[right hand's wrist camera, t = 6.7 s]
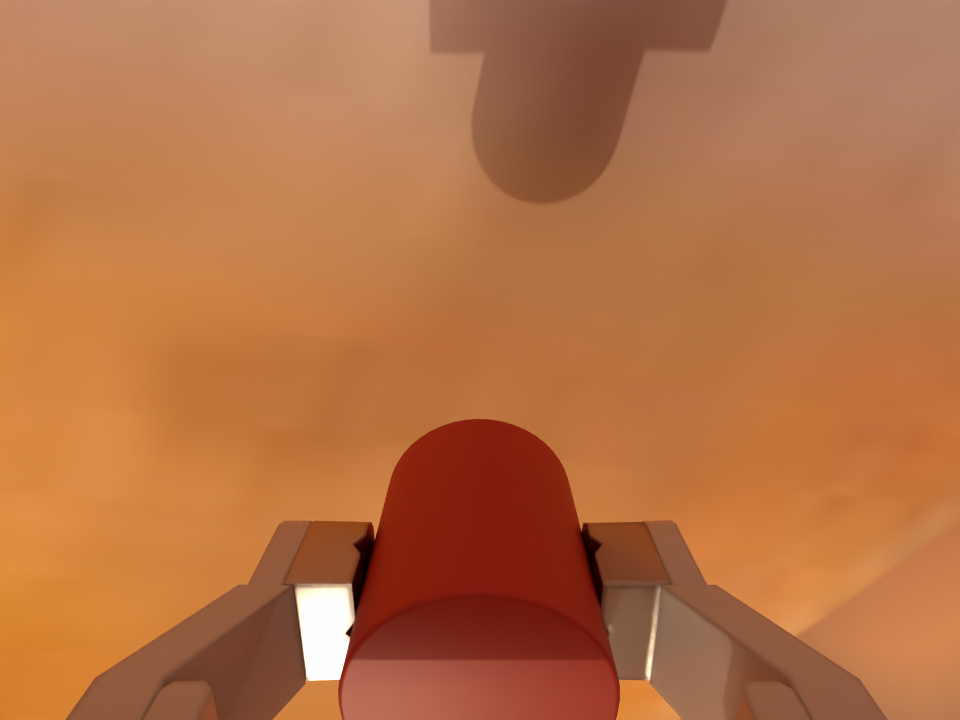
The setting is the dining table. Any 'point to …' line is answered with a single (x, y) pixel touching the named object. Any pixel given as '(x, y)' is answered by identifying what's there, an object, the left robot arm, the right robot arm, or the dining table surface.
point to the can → (479, 590)
